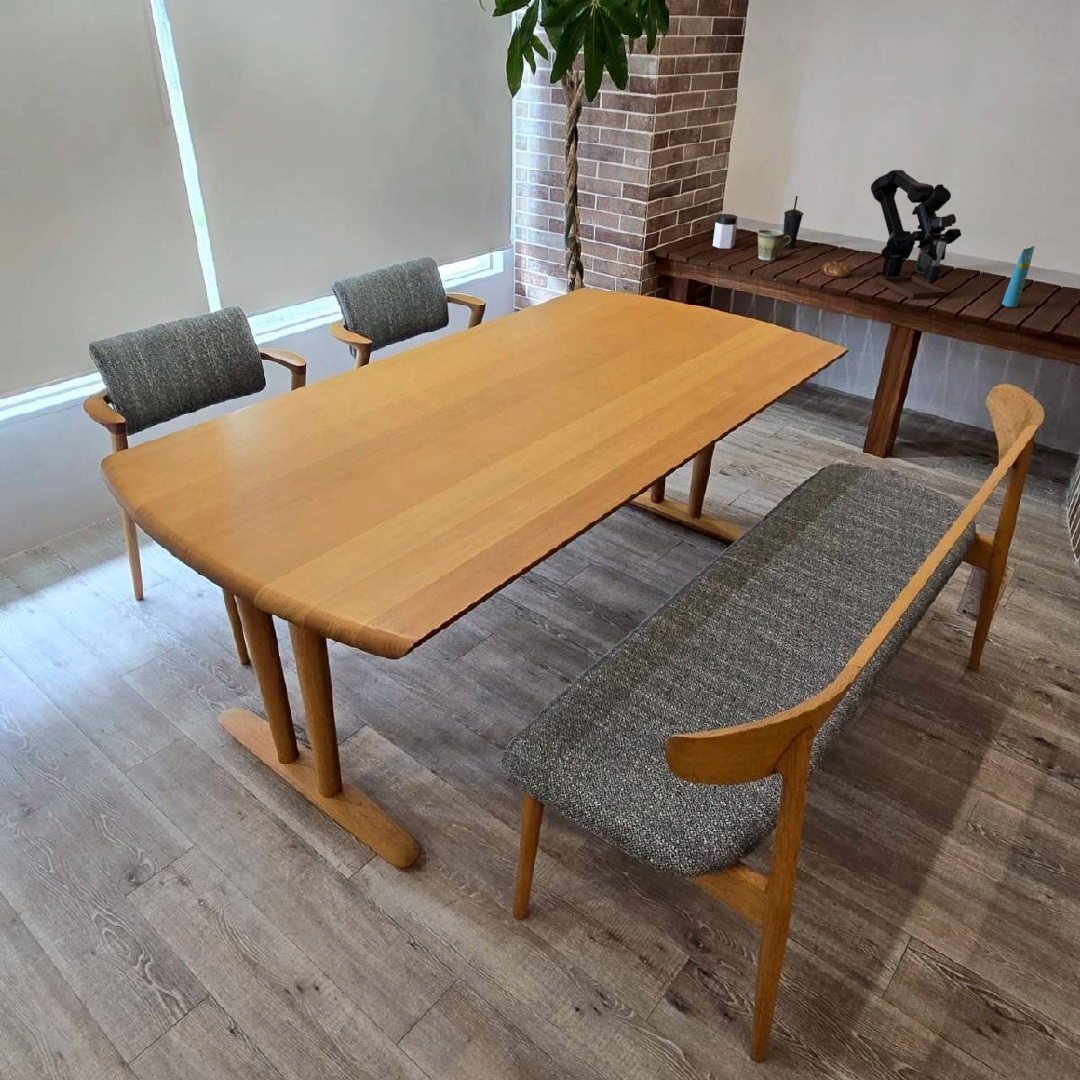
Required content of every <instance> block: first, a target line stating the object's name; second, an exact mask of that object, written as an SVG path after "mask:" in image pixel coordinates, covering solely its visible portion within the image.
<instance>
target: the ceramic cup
mask: <svg viewBox="0 0 1080 1080" xmlns="http://www.w3.org/2000/svg"><path fill="white" fill-rule="evenodd" d="M783 235H784V233H783V231H782V230H778V229H772V228H771V229H768V228H766V229H765V228H764V229H759V230H758V231H757V244H758V245H757V247H758V249H757V253H758V255H757V257H758V259H759V260H761V261H769V262H770V261H775V260H776V258H777V255H778V252H779V251H780V250H781V249H782V248H783V246H784V245H786V244H788V243H789V242H790V241H791V237H790V236H789V235H786V236H783ZM786 237H789V238H790V241H789V242H787V243H786V244H784V245H783V246H782V241H783V239H784V238H786Z"/></svg>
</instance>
